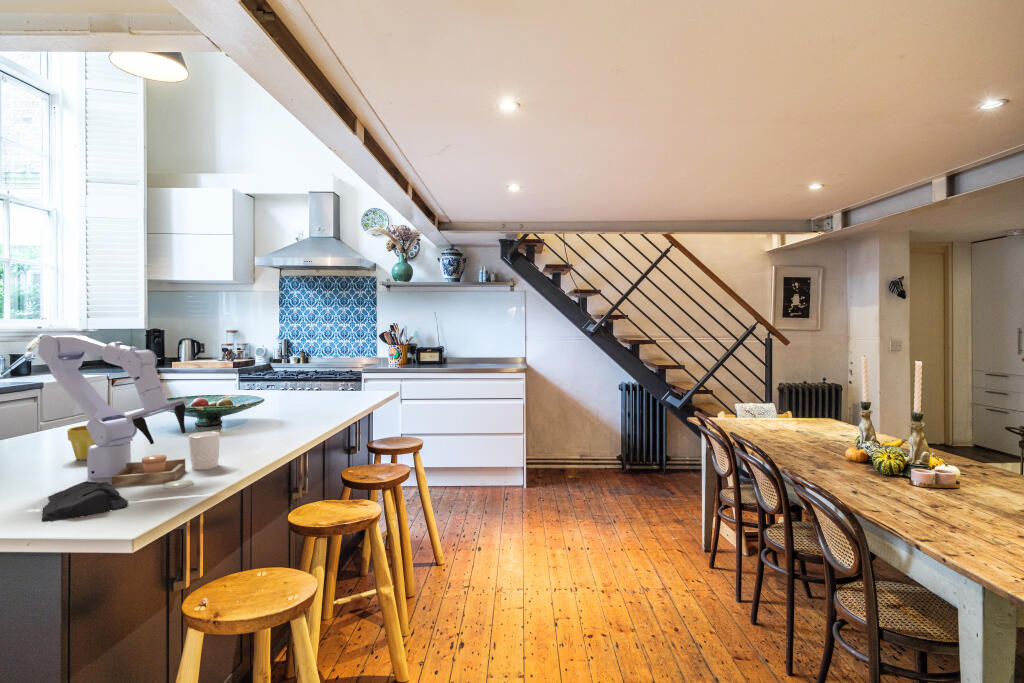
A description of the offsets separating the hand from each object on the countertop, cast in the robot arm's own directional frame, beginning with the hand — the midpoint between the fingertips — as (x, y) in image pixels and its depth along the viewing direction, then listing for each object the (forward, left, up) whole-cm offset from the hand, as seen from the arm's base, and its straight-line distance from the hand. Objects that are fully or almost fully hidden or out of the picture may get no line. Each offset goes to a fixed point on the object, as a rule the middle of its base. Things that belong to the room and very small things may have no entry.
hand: (168, 438), depth 150 cm
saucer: (+5, -11, -11) cm, 16 cm away
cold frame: (-4, -1, -11) cm, 12 cm away
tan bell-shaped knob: (-3, -1, -10) cm, 11 cm away
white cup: (+7, +8, -11) cm, 15 cm away
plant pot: (-31, +35, -11) cm, 48 cm away
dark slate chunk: (-13, -19, -12) cm, 25 cm away
